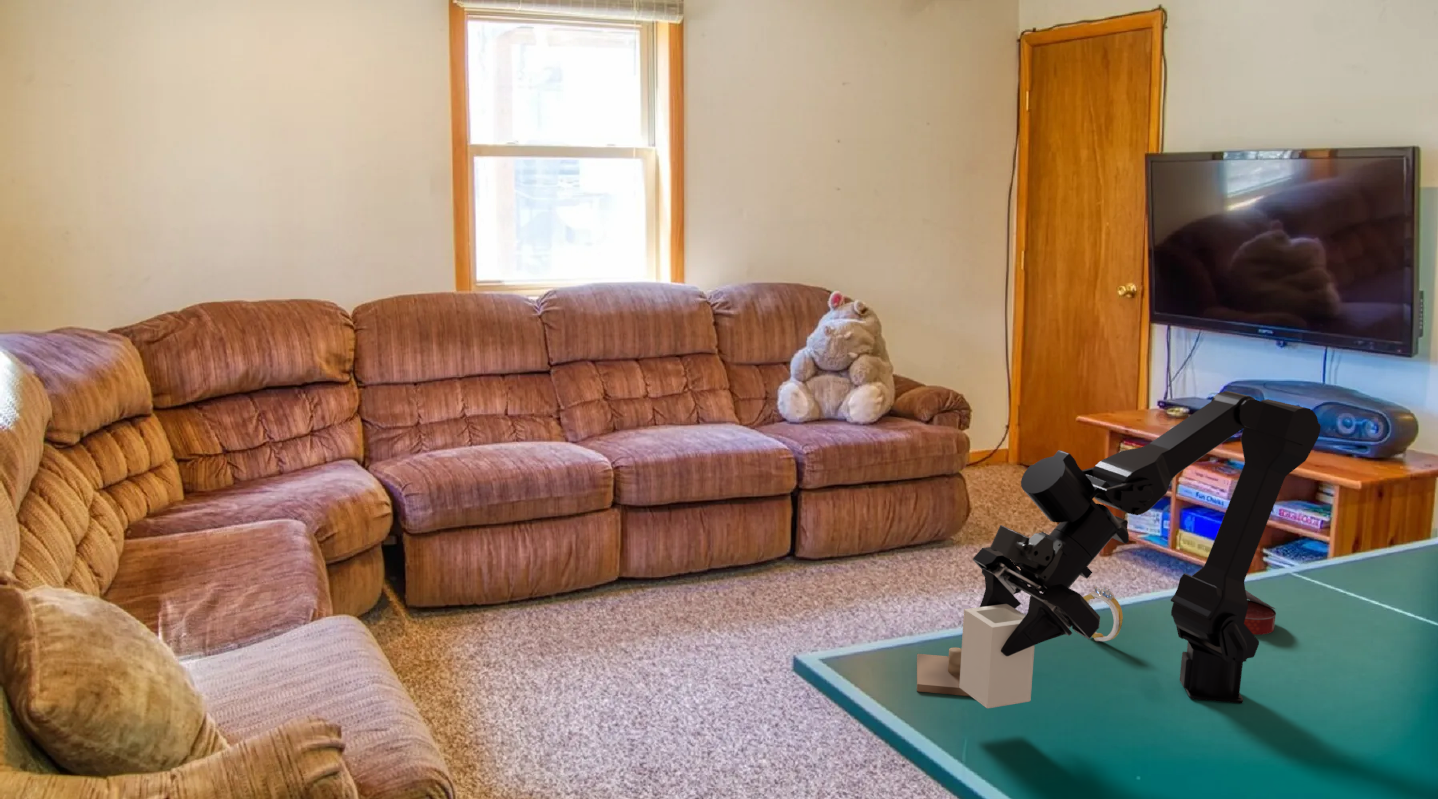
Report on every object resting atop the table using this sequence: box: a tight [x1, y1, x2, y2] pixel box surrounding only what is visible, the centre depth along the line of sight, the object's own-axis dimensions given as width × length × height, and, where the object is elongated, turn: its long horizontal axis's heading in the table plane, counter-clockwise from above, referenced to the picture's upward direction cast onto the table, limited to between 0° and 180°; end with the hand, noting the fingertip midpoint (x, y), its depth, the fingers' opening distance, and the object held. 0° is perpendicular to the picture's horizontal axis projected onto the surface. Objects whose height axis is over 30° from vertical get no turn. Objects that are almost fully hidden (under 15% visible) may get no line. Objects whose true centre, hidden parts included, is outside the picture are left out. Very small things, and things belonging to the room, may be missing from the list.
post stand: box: [916, 646, 971, 697], centre depth 154 cm, size 10×10×4 cm
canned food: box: [1244, 590, 1277, 636], centre depth 176 cm, size 10×9×9 cm
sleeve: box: [959, 604, 1035, 709], centre depth 138 cm, size 6×6×10 cm
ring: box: [1082, 586, 1124, 642], centre depth 167 cm, size 7×3×8 cm, turn 25°
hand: (988, 643), depth 137 cm, fingers closed on sleeve, 6 cm apart
